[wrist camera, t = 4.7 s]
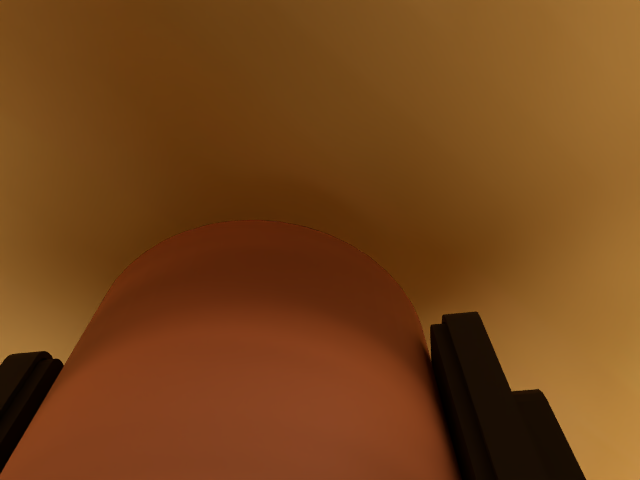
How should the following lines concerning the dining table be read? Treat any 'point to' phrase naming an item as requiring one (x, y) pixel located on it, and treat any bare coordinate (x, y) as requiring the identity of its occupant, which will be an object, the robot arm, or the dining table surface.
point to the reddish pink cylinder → (245, 370)
